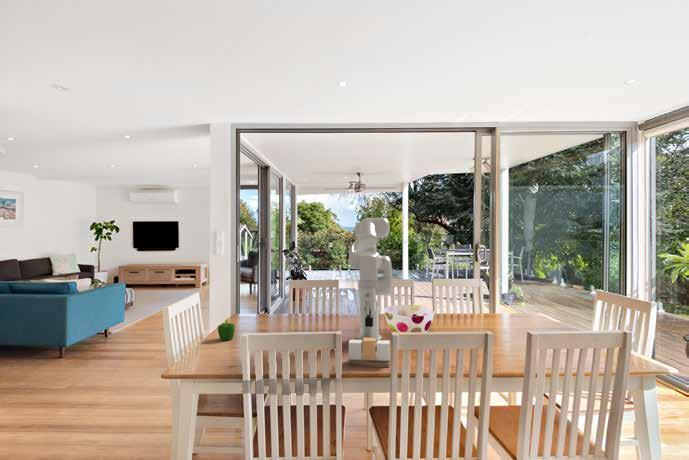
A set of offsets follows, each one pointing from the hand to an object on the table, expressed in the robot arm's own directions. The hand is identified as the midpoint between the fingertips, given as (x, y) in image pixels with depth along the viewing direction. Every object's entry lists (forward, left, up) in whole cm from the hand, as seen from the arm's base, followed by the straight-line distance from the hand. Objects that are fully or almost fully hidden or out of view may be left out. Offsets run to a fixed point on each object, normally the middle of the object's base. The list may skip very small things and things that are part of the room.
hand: (369, 326), depth 179 cm
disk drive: (-21, -5, -16) cm, 27 cm away
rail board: (+1, 0, -15) cm, 15 cm away
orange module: (+1, 0, -13) cm, 13 cm away
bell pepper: (-28, -76, -16) cm, 83 cm away
